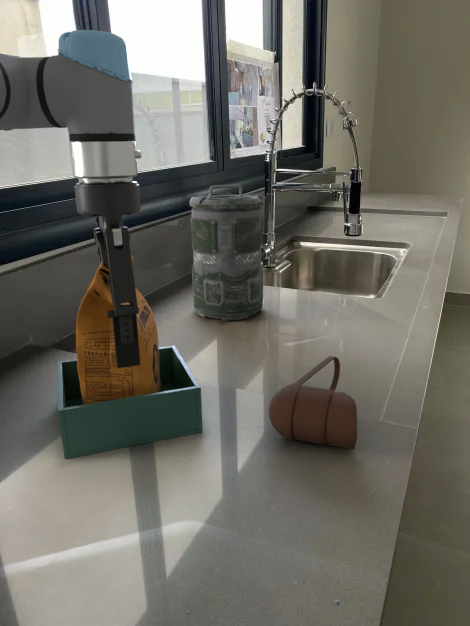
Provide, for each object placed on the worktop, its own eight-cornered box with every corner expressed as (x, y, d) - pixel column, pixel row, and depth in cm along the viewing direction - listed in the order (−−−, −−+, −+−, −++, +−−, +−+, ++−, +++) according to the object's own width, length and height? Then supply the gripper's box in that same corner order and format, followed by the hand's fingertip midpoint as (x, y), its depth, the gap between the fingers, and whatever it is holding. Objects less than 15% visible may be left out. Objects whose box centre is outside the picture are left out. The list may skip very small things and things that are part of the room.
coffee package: (172, 393, 74) (164, 247, 68) (148, 438, 63) (135, 268, 56) (108, 390, 76) (94, 247, 69) (73, 434, 64) (51, 267, 57)
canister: (244, 297, 124) (243, 181, 115) (275, 315, 110) (277, 185, 101) (184, 306, 117) (178, 184, 108) (209, 326, 104) (205, 189, 95)
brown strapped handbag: (354, 464, 58) (358, 411, 56) (260, 444, 62) (260, 394, 60) (375, 396, 73) (379, 353, 71) (299, 383, 78) (300, 342, 76)
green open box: (64, 459, 60) (57, 411, 58) (62, 402, 73) (57, 361, 71) (202, 432, 65) (200, 387, 63) (176, 383, 79) (174, 345, 76)
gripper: (157, 185, 49) (169, 380, 56) (125, 175, 71) (136, 314, 78) (78, 188, 47) (100, 390, 53) (70, 176, 69) (86, 320, 76)
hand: (121, 346), depth 66 cm, fingers open, 13 cm apart
